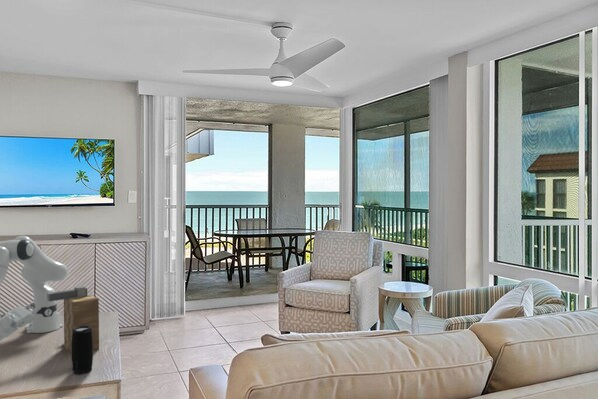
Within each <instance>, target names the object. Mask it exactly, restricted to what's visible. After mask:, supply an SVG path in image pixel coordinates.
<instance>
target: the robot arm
mask: <svg viewBox="0 0 598 399" xmlns="http://www.w3.org/2000/svg"><path fill="white" fill-rule="evenodd" d="M17 261H18V262H19V261H20V263H22V264H23V266H22V268H21V270H20V276H21V277H22V279H23V280H24V281H26V282H27V283H28V285H29V286H30V288H31V290H32V294H33V302H31V303H29V304H26V305H25V306H22V305H19V306H16V307H14V308H13V309H12V310H10V311H8V312H7V313H3V314H1V315H0V342H1V341H2V340H3V339H5V338H8V337H9V336H10V335H12V334H13V333H15V332H17V331H18V330H19V328H23V327H24V326H25V328H26V333H27V334H33V333H34V334H40V333H41V334H42V333H50V332H54V331H56V330H58V329H60V328H62V327H64V323H61V315H60V312H59V311H57V310H58V305H57V300H56V301H50V302H49V301H48V300H47V293H51V292H56V290H55V288H53V287H52V286H50V285H49V282H51V283H54V282H55V283H56V282H60V281H64V280H65V279H66V277H67V275H68V273H69V272H68V271H69V270H68V267H67V265H66V264H64V263H61V262H58V261H56V260H55V259H53V258H51V257H50V256H48V255H47V254H45V253H44V251H42V250H41V248H40V247H39V246H38V244H37V243H36V242H35V241H34V240H33V239H32V238H31V237H29V236H27V235H19V236H17V237H15V238H14V239H10V240H4V241H2V240H1V241H0V285H1V284H2V283H3V282H4V280H5V278H6V277H7V273H8V270H9V267H10V266H9V264H10V263H11V262H17ZM30 309H32V310H30Z"/></svg>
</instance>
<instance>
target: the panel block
mask: <svg viewBox="0 0 598 399" xmlns="http://www.w3.org/2000/svg"><path fill="white" fill-rule="evenodd" d="M99 299H100V298H98V297H96V296H94V295H92V294H90V293H87V296H83V297H75V298H69V299H63V337H64V338H63V339H64V340H63V345H64V348H63V349H66V350H67V351H68V352H70V354H72V349H71V342H72V333H73V332H72V331H73V328H77V327H80V326H84V325H88V326H90V327H91V328H92V338H93V352H94V351H98V350H100V309H99V308H100V304H99Z"/></svg>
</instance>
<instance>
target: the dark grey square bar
mask: <svg viewBox="0 0 598 399" xmlns="http://www.w3.org/2000/svg"><path fill="white" fill-rule="evenodd" d="M87 294H88V288H86V286H84V285H81V286H74V289H66V290H60V291H59V290H58V291H55V292H51V293H47V300H48V301H49V302H50V301H56V302H57V301H62V300H63V301H64V299H69V298H75V297H83V296H87Z"/></svg>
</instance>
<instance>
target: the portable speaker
mask: <svg viewBox="0 0 598 399" xmlns="http://www.w3.org/2000/svg"><path fill="white" fill-rule="evenodd" d="M72 332H73V333H72V342H71V349H72V353H71V365H72V371H73V374H75V375H82V374H83V373H85V372H91V371H92V370H93V359H94V351H93V338H92V328H91V327H90V326H88V325H84V326H80V327H77V328H73V331H72Z"/></svg>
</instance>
